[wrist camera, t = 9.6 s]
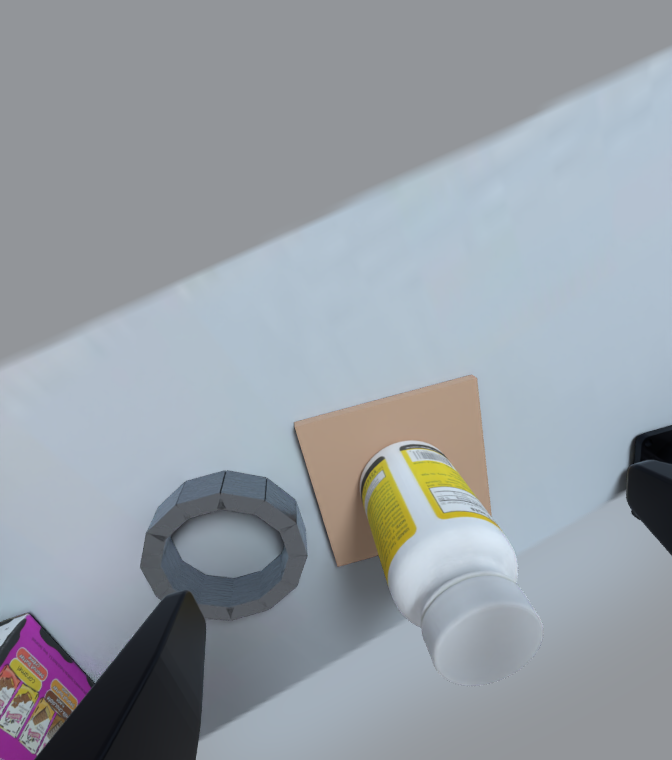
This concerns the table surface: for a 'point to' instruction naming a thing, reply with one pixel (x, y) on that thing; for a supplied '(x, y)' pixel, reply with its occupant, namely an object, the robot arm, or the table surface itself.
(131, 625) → the table surface
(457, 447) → the mat
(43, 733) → the candy bar box
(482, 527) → the supplement bottle
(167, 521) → the collar
